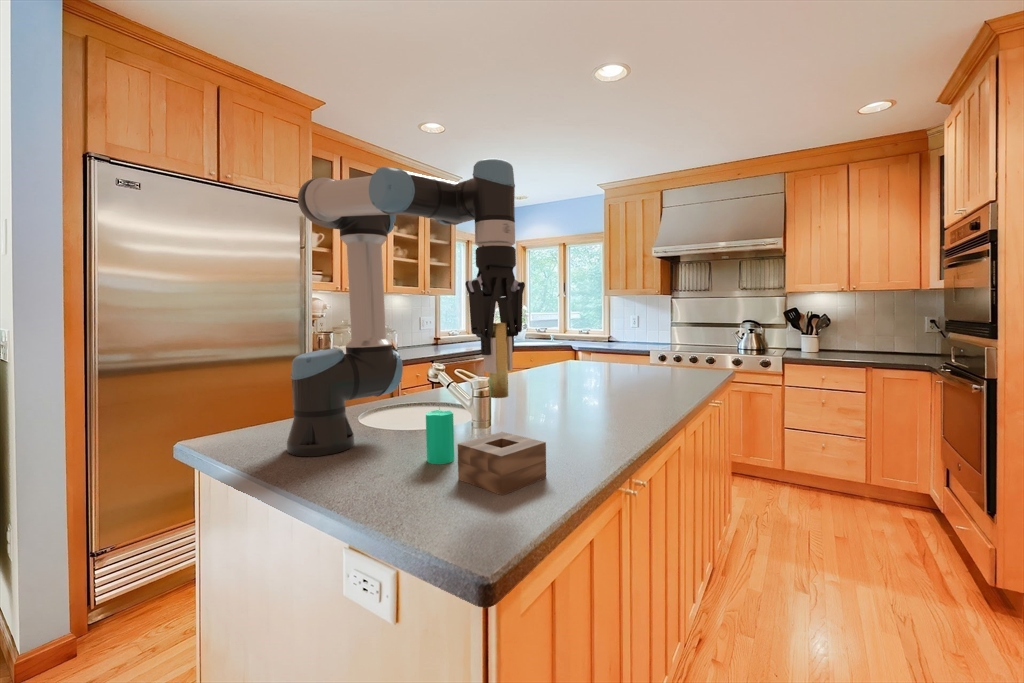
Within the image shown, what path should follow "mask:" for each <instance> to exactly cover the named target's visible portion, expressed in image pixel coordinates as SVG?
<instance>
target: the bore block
mask: <svg viewBox="0 0 1024 683" xmlns="http://www.w3.org/2000/svg"><path fill="white" fill-rule="evenodd" d="M457 468H458V469H457V472H458V474H457V476H458V478H457V479H458V480H459V481H462V482H464V483H467V484H470V485H473V486H475V487H477V488H480V489H483V490H486V491H489V492H492V493H494V494H497V495H500V496H504V495H507V494H509V493H512V492H515V491H517V490H519V489H521V488H524V487H526V486H527V487H528V486H529V485H531V484H534V483H536V482H539V481H541V480H544V479H546V478H547V441H542V440H539V439H536V438H535V439H534V438H530V437H525V436H521V435H516V434H514V433H513V434H512V433H507V432H503V431H501V432H500V431H499V432H497V433H493V434H489V435H485V436H482V437H478V438H474V439H470V440H466V441H464V442H460V443H457Z"/></svg>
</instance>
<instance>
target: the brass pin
mask: <svg viewBox="0 0 1024 683" xmlns="http://www.w3.org/2000/svg"><path fill="white" fill-rule="evenodd" d="M491 338H496V366H497V373H488V379H489V380H488V381H489V382H488V383H489V384H488V386H489V387H488V388H489V398H493V399H504V398H508V397H509V371H508V352H507V323H501V322H494V324H493V334H492V337H491Z"/></svg>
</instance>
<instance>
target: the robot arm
mask: <svg viewBox="0 0 1024 683" xmlns="http://www.w3.org/2000/svg"><path fill="white" fill-rule="evenodd" d="M472 171H473V173H472V178H470V179H467V180H463V181H458V182H455V181H453V180H452V181H451V180H446V179H442V178H438V177H433V176H427V175H424V174H423V175H422V174H419V173H416V172H411V171H407V170H404V169H402V168H397V167H388V166H381V167H379V168H377V169H376V170H375V172H373V173H372V175H368V176H366V175H365V176H361V177H359V176H358V177H352V178H343V179H333V178H331V177H325V176H324V177H323V176H322V177H316V178H311V179H309V180H306V181H305V182H304V183H303V184H302V185H301V187H299V191H298V195H297V203H298V207H299V210H300V212H301V213H302V214H303V216H305V218H306V219H308V221H310V222H312V224H315V225H317V226H319V227H323V228H326V229H333V230H339V239H340V241H342V242H343V243H344V244H345V246H346V256H347V258H346V259H347V274H348V275H347V278H348V293H349V294H348V295H349V297H348V298H349V314H350V331H351V332H350V333H351V335H350V336H351V339H350V341H349V342H348V343H347V344H346V345H345V352H344V351H343V349H341V348H328V349H327V348H326V349H320V350H314V351H309V352H305V353H301V354H299V355H297V356H295V357H294V358H293V359H292V362H291V374H290V378H291V386H292V388H291V389H292V390H291V391H292V407H293V408H292V409H293V420H292V424H291V427H290V431H289V435H288V437H287V440H286V452H287V453H288V454H289V453H290V454H289V455H291V454H292V456H295V455H296V456H297V457H320V456H328V455H332V454H337V453H341V452H344V451H347V450H349V449H351V448H353V447H354V446H355V435H354V432H353V429H352V427H351V424H350V422H349V419H348V417H347V414H346V402H347V401H351V400H353V401H354V400H358V399H363V398H364V399H366V398H370V397H381V396H384V395H388V394H391V393H393V392H395V390H397V389H398V386H399V385H400V384H401V381H402V377H403V374H404V373H403V372H404V365H403V360H402V358H401V355H400V353H399V352H397V351H396V350H394V348H393V343H392V342H391V341H390V340H388V338H387V333H386V332H387V331H386V330H387V329H386V310H385V308H386V307H385V293H384V292H385V290H384V271H383V269H384V266H383V248H382V246H383V244H384V243H386V241H388V235H389V234H390V233H391V232H393V230H394V228H395V224H396V221H397V220H396V219H397V216H399V215H400V216H401V215H403V216H404V215H405V216H412V217H413V216H414V217H423V218H426V219H432V220H435V221H436V222H438V223H439V224H441V225H444V226H450V225H453V226H456V225H459V224H462V223H466V222H470V221H474V244H475V246H476V248H475V267H476V268H477V269H478V272H477V275H476V277H475V278H474V279H472V280H471V279H469V280H466V281H465V287H466V290H467V293H468V302H469V305H468V306H469V315H470V316H469V317H470V318H469V319H470V329H471V330H470V331H471V334H472V335H476V337H477V338H480V353H481V355H482V356H483V373H487V374H489V373H497V366H496V338H491V337H492V334H493V324H494V323H495V312H496V307H497V306H498V313H499V319H500V323H507V352H508V372H512V371H513V370H514V367H513V365H514V363H513V358H514V357H513V353H514V352H515V337H518V336H519V333H521V332H522V331H523V298H524V296H523V294H524V290H525V287H526V285H525V284H526V283H525V281H518V280H517V279H516V277H515V274H514V268H515V267H516V265H517V259H516V258H517V257H516V256H517V255H516V254H517V253H516V251H517V250H516V248H515V247H514V245H515V244H516V224H515V223H516V218H515V215H516V214H515V213H516V212H515V211H516V210H515V208H516V207H515V198H516V197H515V192H516V191H515V189H516V183H515V177H514V176H515V174H514V167H513V165H512V164H511V162H509V161H508V160H505V159H500V158H485V159H481V160H478V161H477V162H475V164H474V165H473V170H472ZM496 303H497V304H496ZM496 305H497V306H496ZM296 456H295V457H296Z"/></svg>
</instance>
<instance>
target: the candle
mask: <svg viewBox="0 0 1024 683" xmlns="http://www.w3.org/2000/svg"><path fill="white" fill-rule="evenodd" d="M425 429H426V430H425V431H426V433H425V434H426V462H427V463H429V464H433V465H446V464H450V463H452V462H454V461H455V435H454V434H455V431H454V412H452V411H451V410H445V411H444V410H441V407H440V405H438V409H436V410H431V411H428V412H426V413H425Z"/></svg>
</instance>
